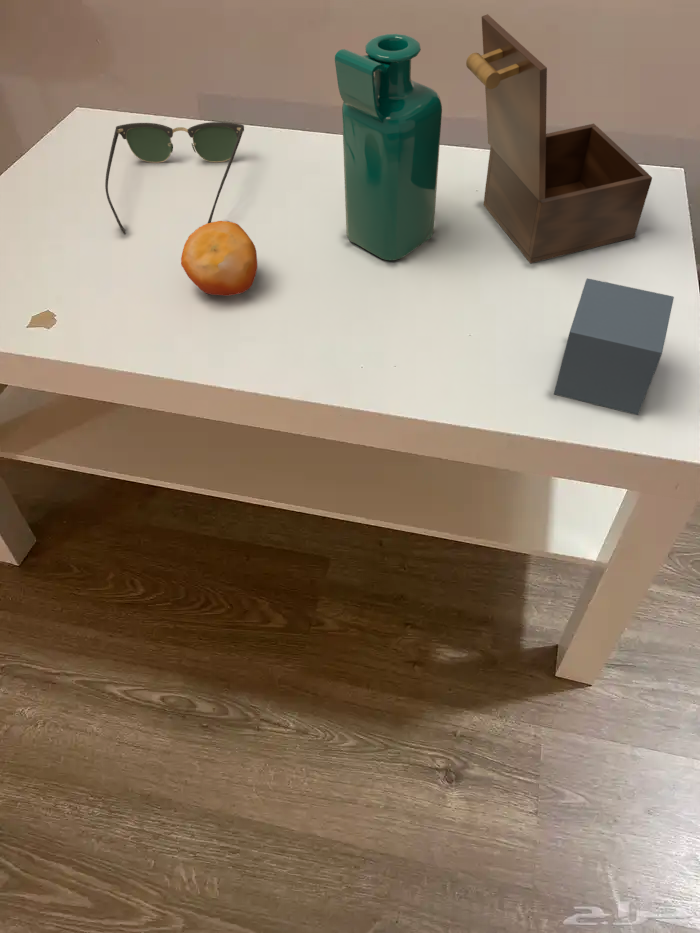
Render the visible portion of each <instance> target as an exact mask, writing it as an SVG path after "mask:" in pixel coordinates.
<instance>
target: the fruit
mask: <svg viewBox="0 0 700 933" xmlns="http://www.w3.org/2000/svg"><path fill="white" fill-rule="evenodd" d="M180 265H181V267H182V268H183V271H184V272H185V274H186V275H187V278H188V279H190V281H191V282H192V283H193V284H194V285H195V286H197V287H198V289H199V290H200V291H202V292H203V293H205V294H207V295H212V296H226V297H227V296H234V295H235V296H236V295H239V294H244V293H245V292H247V291H248V290H249V289H250V288H252V286H253V284H254V281H255V278H256V275H257V272H258V255H257V249H256V245H255V243H254V242H253V240H252V239H251V238H250V236H249V235H248V234H247V232H246V231H245V230H244V229H243V228H242V227H241V225H240V224H238V223H237V222H234V221H227V220H217V221H211V223H208V222H207V223H205V224H202V225H201V226H199V227H197V228H196V229H195V230H194V231H193V232H192V233H190V234H189V235H188V236H187V239H186V240H185V243H184V246H183V249H182V253H181V258H180Z"/></svg>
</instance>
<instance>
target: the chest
mask: <svg viewBox="0 0 700 933" xmlns="http://www.w3.org/2000/svg"><path fill="white" fill-rule="evenodd" d="M489 146H490V145H489ZM652 180H653V177H652V176H651V175H650V174H649V172H647V171H646V170H645V169H644V168H643V167H642V166H641V165H640V164H639V163H638V162H636V161H635V160H634V159H633V158H632V157H631V156H630V155H629V154H628V153H627V152H626V151H624V149H622V148H621V147H620V146H619V145H618V144H617V143H616V142H615V141H614V140H613V139H612V138H610V136H608V135H607V134H606V133H605V132H604V131H603V130H602V129H601V128H600V127H599V126H598V125H596V124H595V123H590V124H584V125H580V126H576V127H572V128H566V129H562V130H557V131H552V132H546V173H545V199H543V200H540V201H539V200H538V199H537V198H536V197H535V196H534V194H533V193H532V192H531V191H530V190H529V189H528V188H527V186H526V185H525V184H524V183H523V182H522V181H521V180H520V179H519V177H518V176H517V175H516V174H515V173H514V172H513V171H512V170H511V168H510V167H509V166H508V165H507V164H506V163H505V162H504V161H503V159H502V158H501V157H500V156H499V155H498V154H497V153H496V151H495V150H494V149H493V148H492V147H491V146H490V148H489V155H488V163H487V172H486V179H485V187H484V196H483V206H484V208H485V209H486V210H487V211H488V213H489V214H490V215H491V216H492V217H493V219H494V220H495V221H496V222H497V224H498V225H499V226H500V228H501V229H502V230H503V231H504V232H505V234H506V235H507V236H508V238H509V239H510V240H511V241H512V242H513V244H514V245H515V246H516V248H517V249H518V250H519V251H520V253H521V254H522V255H523V256H524V258H525V259H526V260H527V262H529V264H534V263H538V262H541V261H546V260H549V259H553V258H554V259H555V258H557V257H562V256H565V255H570V254H573V253H578V252H582V251H586V250H590V249H595V248H599V247H603V246H607V245H610V244H614V243H618V242H623V241H626V240H630V239H634V238H635V237H636V233H637V230H638V227H639V223H640V220H641V217H642V213H643V210H644V207H645V203H646V200H647V198H648V194H649V190H650V187H651V184H652Z"/></svg>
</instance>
